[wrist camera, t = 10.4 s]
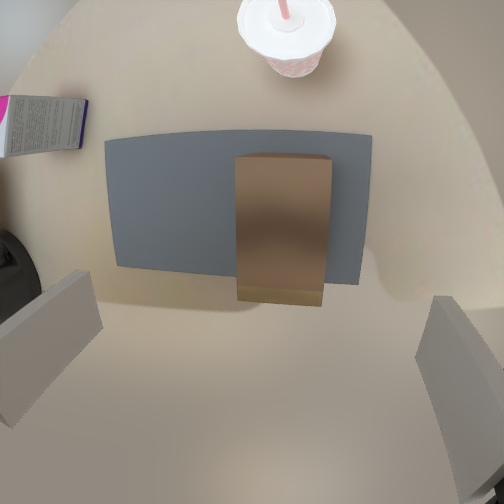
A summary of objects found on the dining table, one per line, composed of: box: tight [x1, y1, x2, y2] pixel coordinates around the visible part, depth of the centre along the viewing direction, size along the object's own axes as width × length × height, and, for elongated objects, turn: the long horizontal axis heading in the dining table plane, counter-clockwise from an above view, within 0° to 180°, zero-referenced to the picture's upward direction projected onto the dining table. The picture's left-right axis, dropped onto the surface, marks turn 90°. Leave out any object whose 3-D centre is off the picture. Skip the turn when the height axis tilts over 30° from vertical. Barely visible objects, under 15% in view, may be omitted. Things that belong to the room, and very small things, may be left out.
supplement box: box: [0, 95, 88, 158], centre depth 23 cm, size 6×6×12 cm
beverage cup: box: [237, 0, 336, 78], centre depth 16 cm, size 6×6×14 cm
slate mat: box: [105, 130, 372, 285], centre depth 28 cm, size 26×14×1 cm, turn 90°
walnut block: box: [235, 153, 332, 307], centre depth 24 cm, size 10×6×8 cm, turn 0°
